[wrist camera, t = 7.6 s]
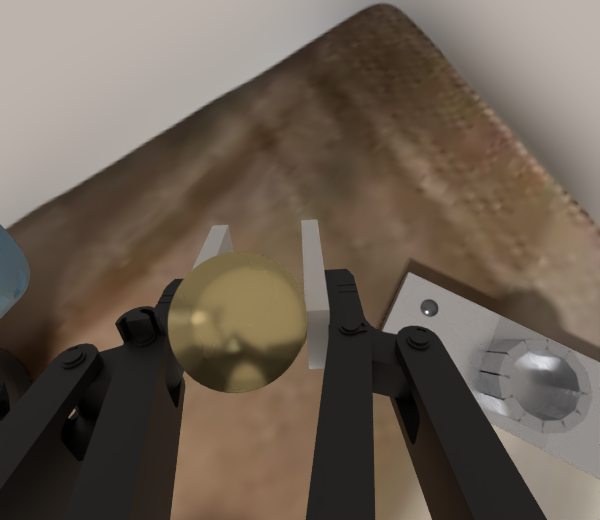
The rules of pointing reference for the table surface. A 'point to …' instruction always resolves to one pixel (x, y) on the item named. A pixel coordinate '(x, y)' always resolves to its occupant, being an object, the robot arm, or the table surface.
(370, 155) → the table surface
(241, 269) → the hinge pin
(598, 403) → the hinge leaves
